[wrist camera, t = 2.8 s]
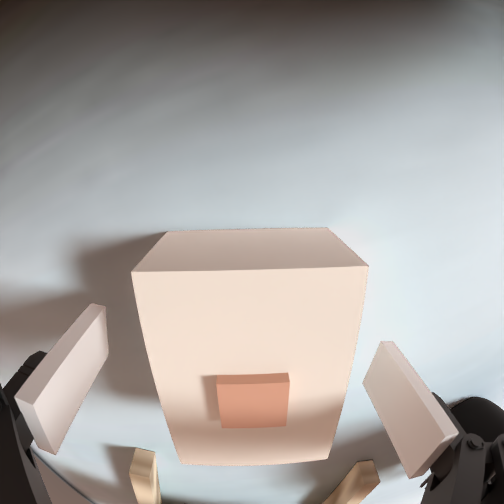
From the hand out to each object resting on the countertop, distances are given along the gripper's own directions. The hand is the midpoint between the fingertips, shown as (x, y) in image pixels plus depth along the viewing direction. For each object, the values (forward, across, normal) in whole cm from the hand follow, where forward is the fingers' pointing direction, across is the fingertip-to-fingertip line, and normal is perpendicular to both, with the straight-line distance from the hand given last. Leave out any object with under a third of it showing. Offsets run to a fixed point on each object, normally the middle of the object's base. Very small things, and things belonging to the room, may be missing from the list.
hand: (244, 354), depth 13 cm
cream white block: (+2, 0, 0) cm, 2 cm away
